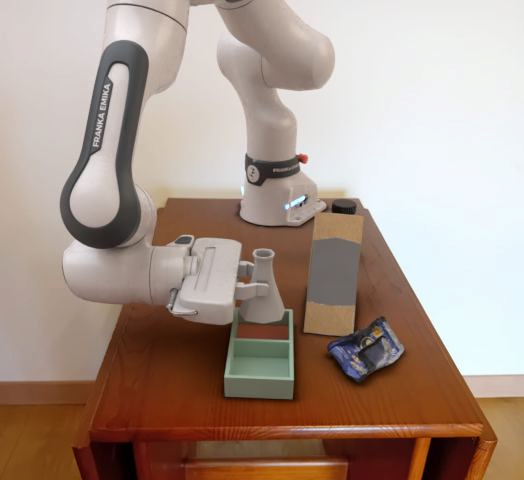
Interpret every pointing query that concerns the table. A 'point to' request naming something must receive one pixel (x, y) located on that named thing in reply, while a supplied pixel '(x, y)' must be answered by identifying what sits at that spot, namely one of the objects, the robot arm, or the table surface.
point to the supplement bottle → (344, 206)
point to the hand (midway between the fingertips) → (269, 280)
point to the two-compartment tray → (260, 358)
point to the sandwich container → (333, 274)
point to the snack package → (366, 349)
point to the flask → (263, 306)
